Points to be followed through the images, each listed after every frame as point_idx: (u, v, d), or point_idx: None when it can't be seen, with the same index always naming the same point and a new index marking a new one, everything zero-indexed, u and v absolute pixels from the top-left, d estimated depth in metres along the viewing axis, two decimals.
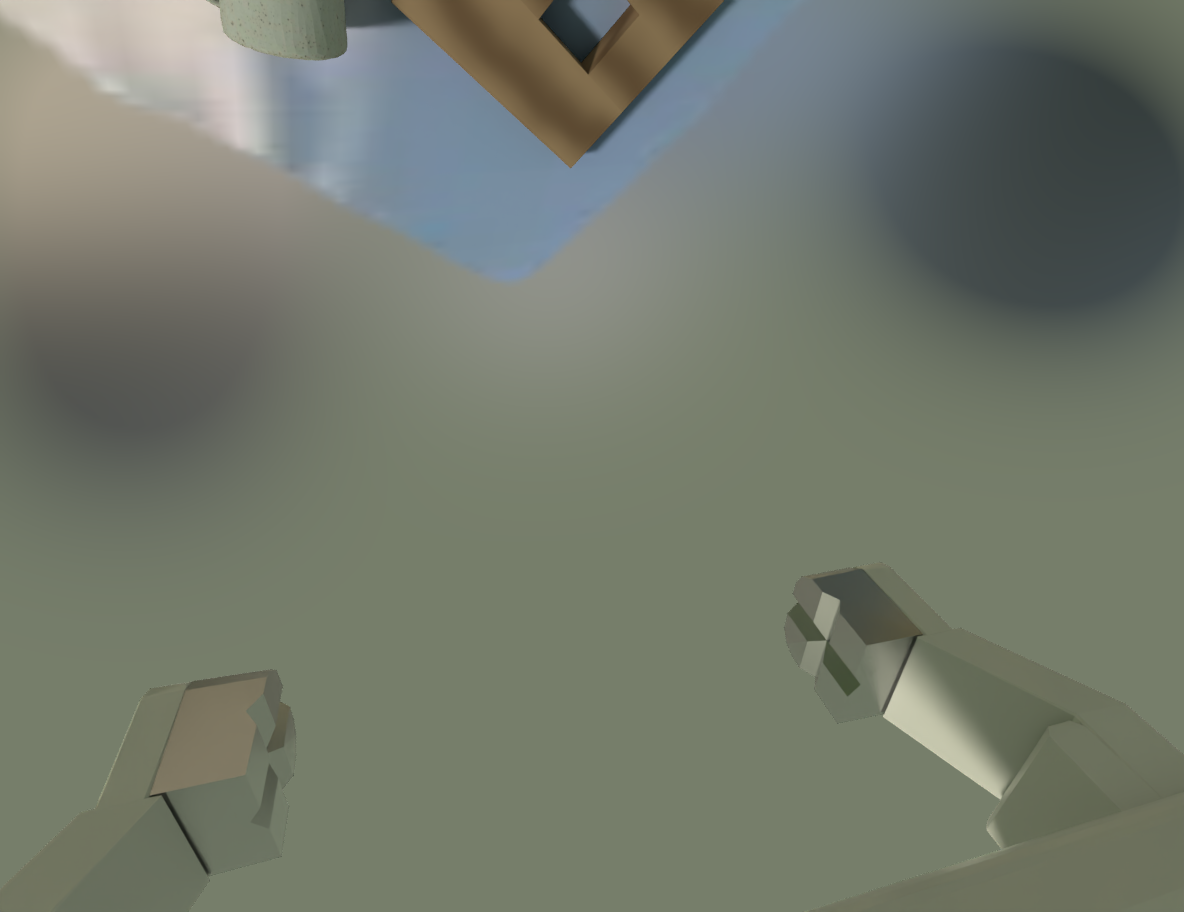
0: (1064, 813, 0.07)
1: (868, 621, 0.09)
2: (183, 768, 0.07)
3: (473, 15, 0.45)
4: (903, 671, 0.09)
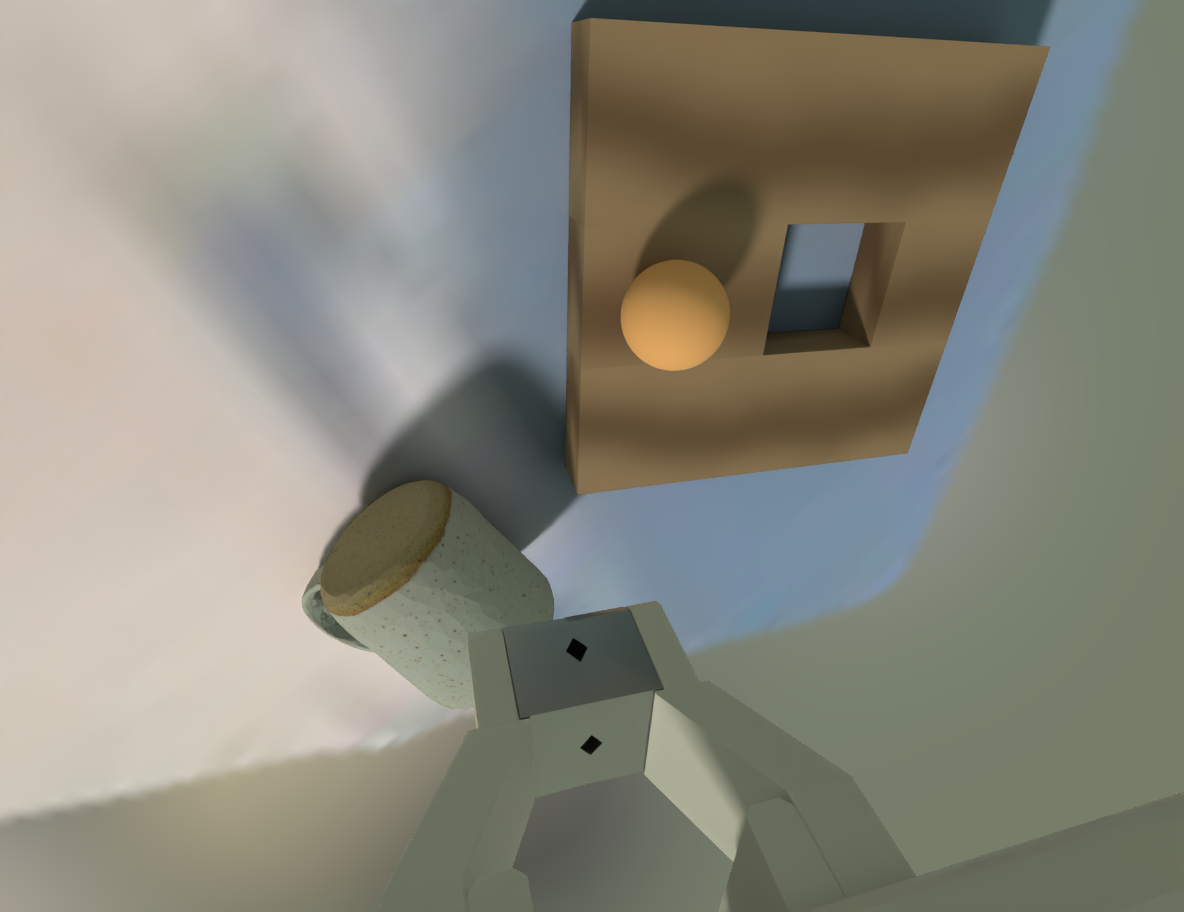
0: (760, 907, 0.06)
1: (608, 672, 0.08)
2: (537, 697, 0.08)
3: (678, 423, 0.28)
4: (651, 727, 0.08)
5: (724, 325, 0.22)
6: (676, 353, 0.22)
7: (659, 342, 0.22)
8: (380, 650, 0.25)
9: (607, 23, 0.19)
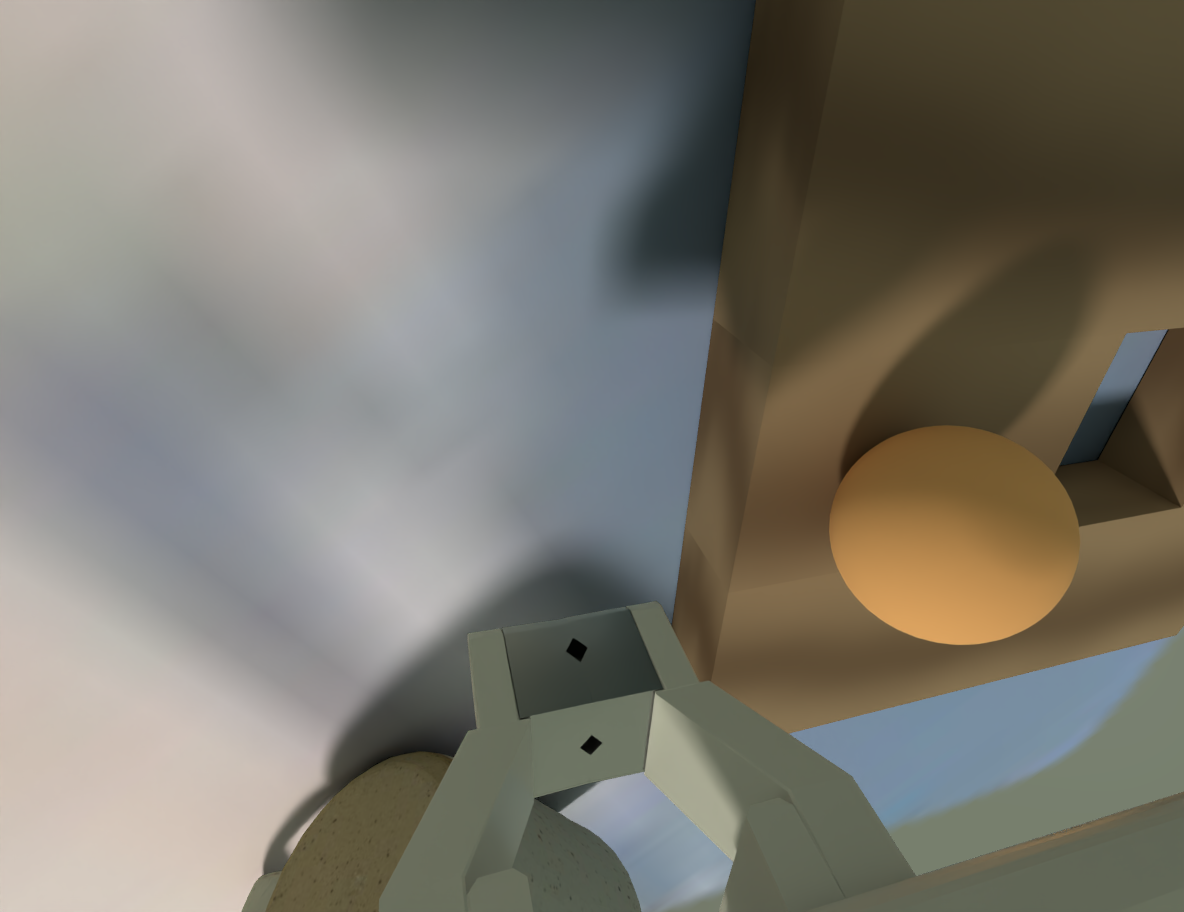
0: (760, 907, 0.06)
1: (608, 672, 0.08)
2: (537, 696, 0.08)
3: (869, 645, 0.17)
4: (650, 727, 0.08)
5: None
6: (979, 636, 0.10)
7: (948, 619, 0.10)
8: None
9: None
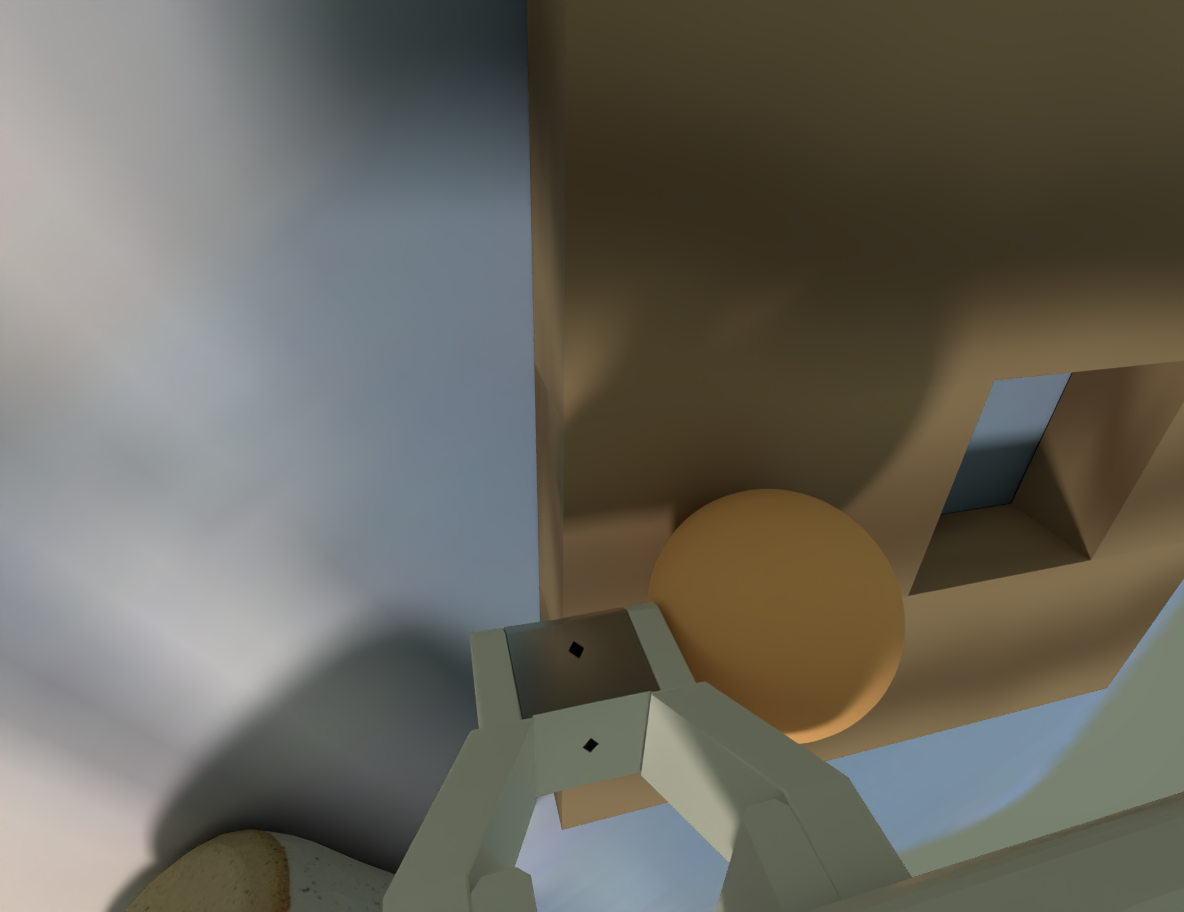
0: (756, 908, 0.06)
1: (604, 673, 0.08)
2: (539, 696, 0.08)
3: None
4: (647, 728, 0.08)
5: None
6: None
7: None
8: None
9: None
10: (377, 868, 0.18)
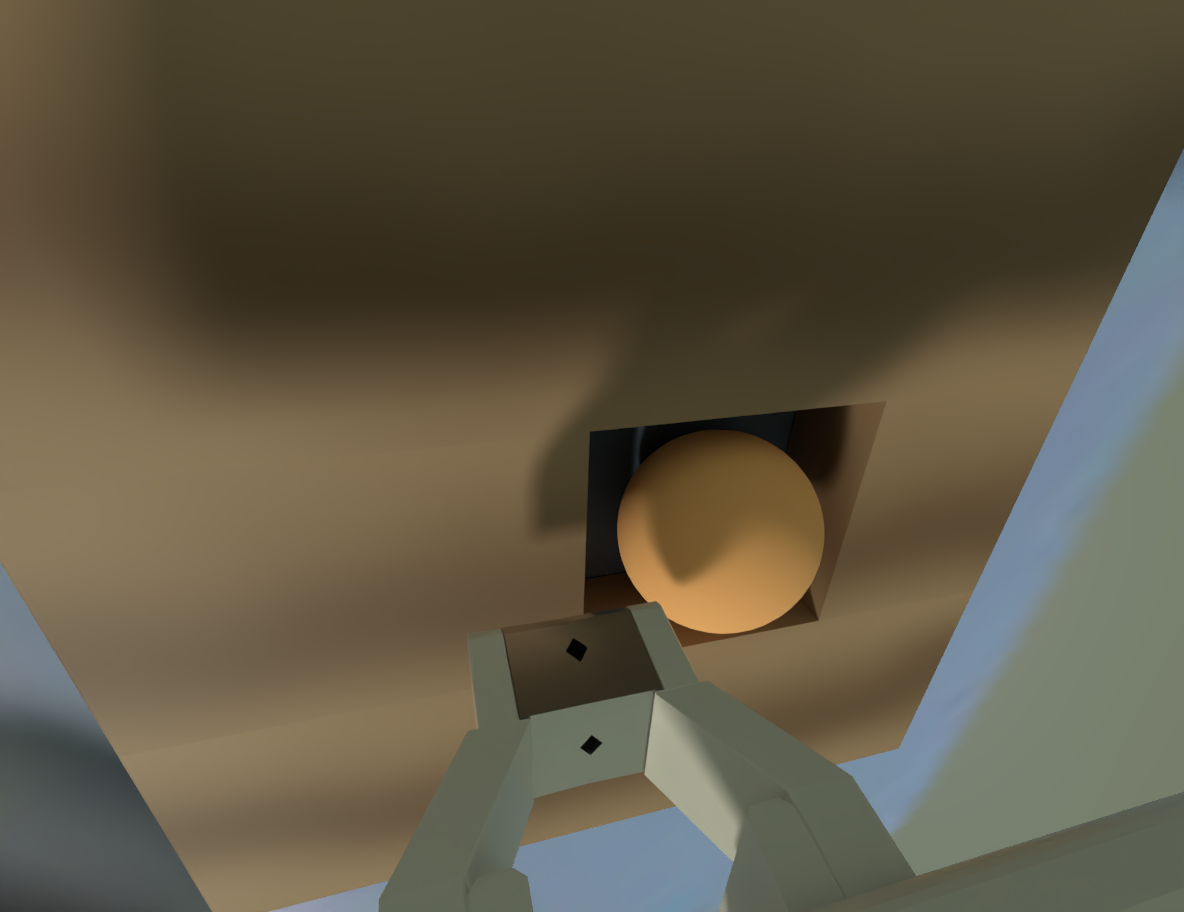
0: (760, 907, 0.06)
1: (608, 672, 0.08)
2: (537, 697, 0.08)
3: (415, 793, 0.13)
4: (650, 727, 0.08)
5: (661, 574, 0.11)
6: None
7: None
8: None
9: None
10: None
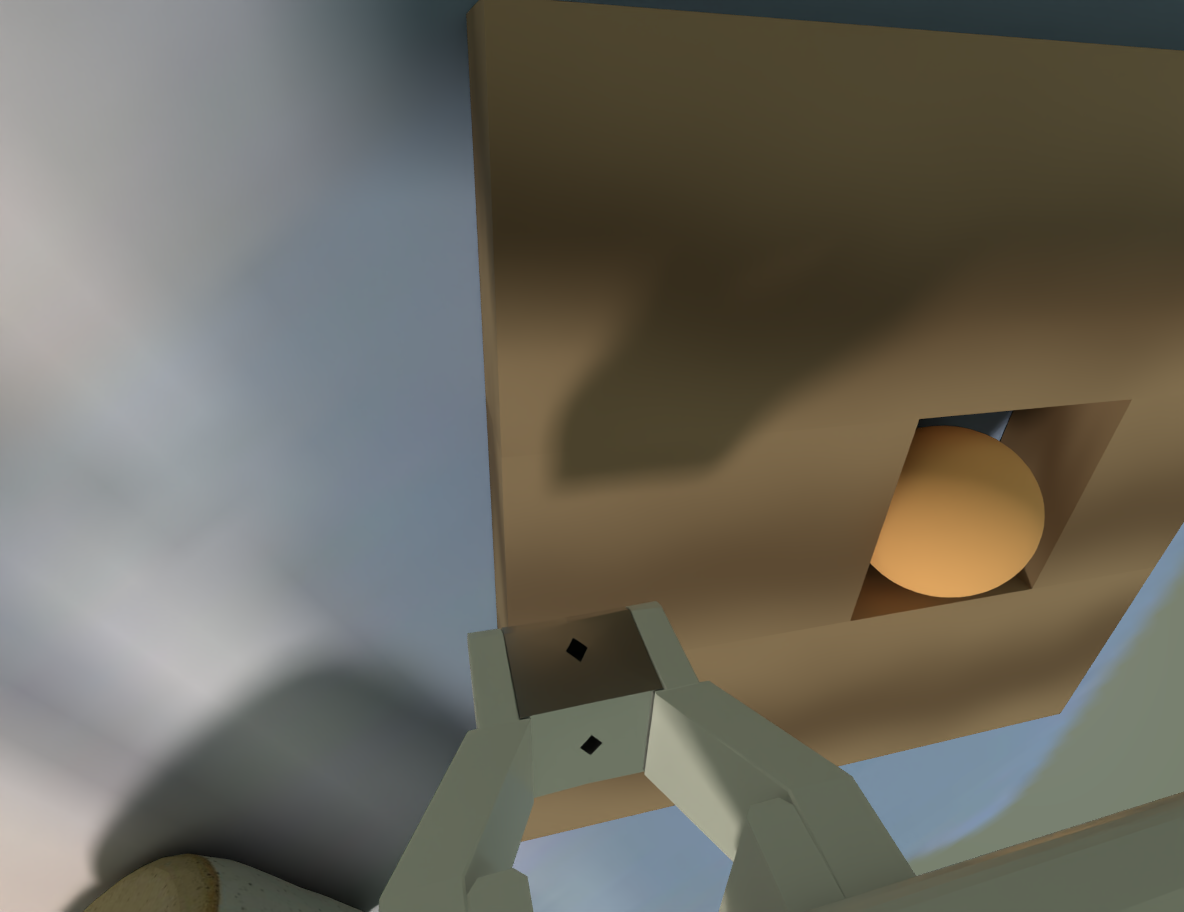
0: (760, 907, 0.06)
1: (608, 672, 0.08)
2: (537, 696, 0.08)
3: None
4: (650, 727, 0.08)
5: None
6: None
7: None
8: None
9: (530, 10, 0.07)
10: (315, 893, 0.18)
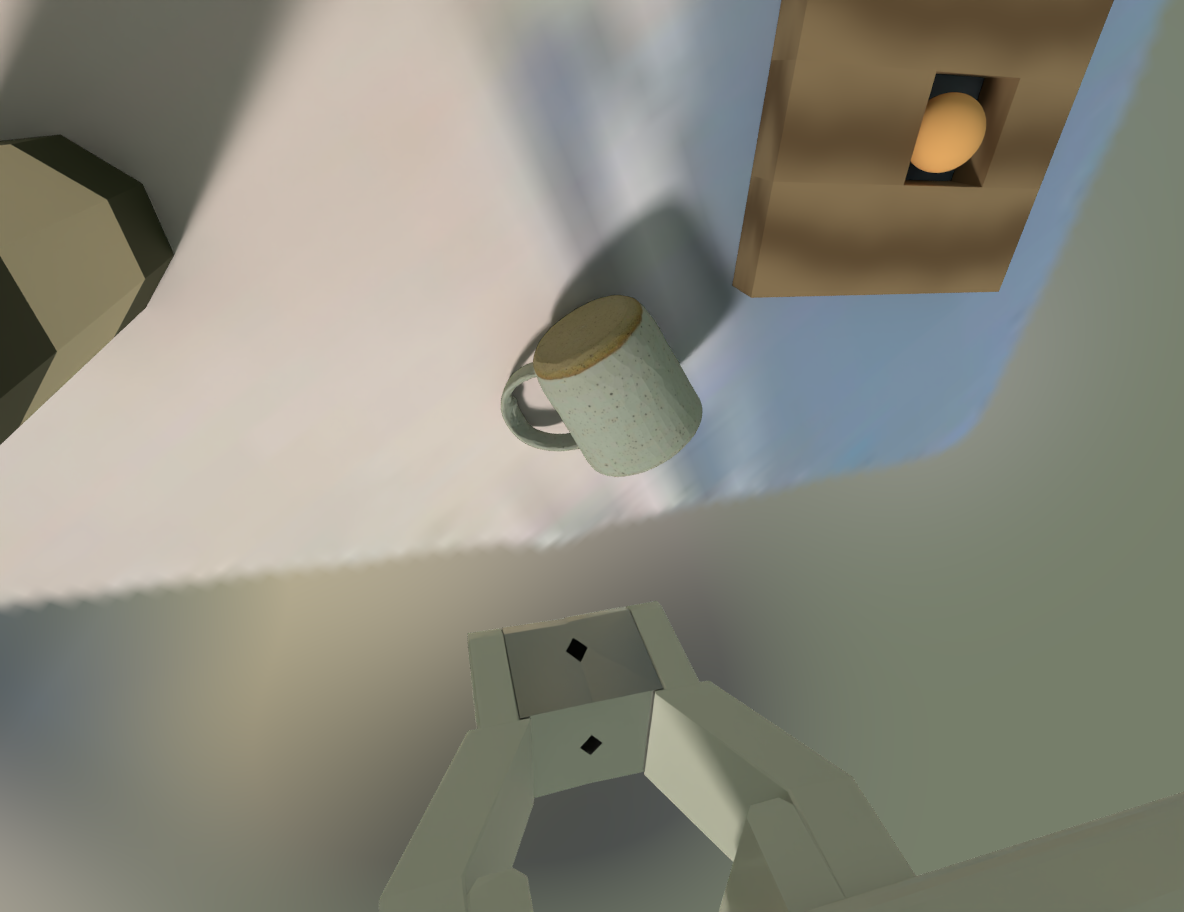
0: (760, 907, 0.06)
1: (608, 672, 0.08)
2: (538, 696, 0.08)
3: (833, 240, 0.36)
4: (650, 727, 0.08)
5: (921, 129, 0.34)
6: None
7: None
8: (586, 412, 0.33)
9: None
10: None
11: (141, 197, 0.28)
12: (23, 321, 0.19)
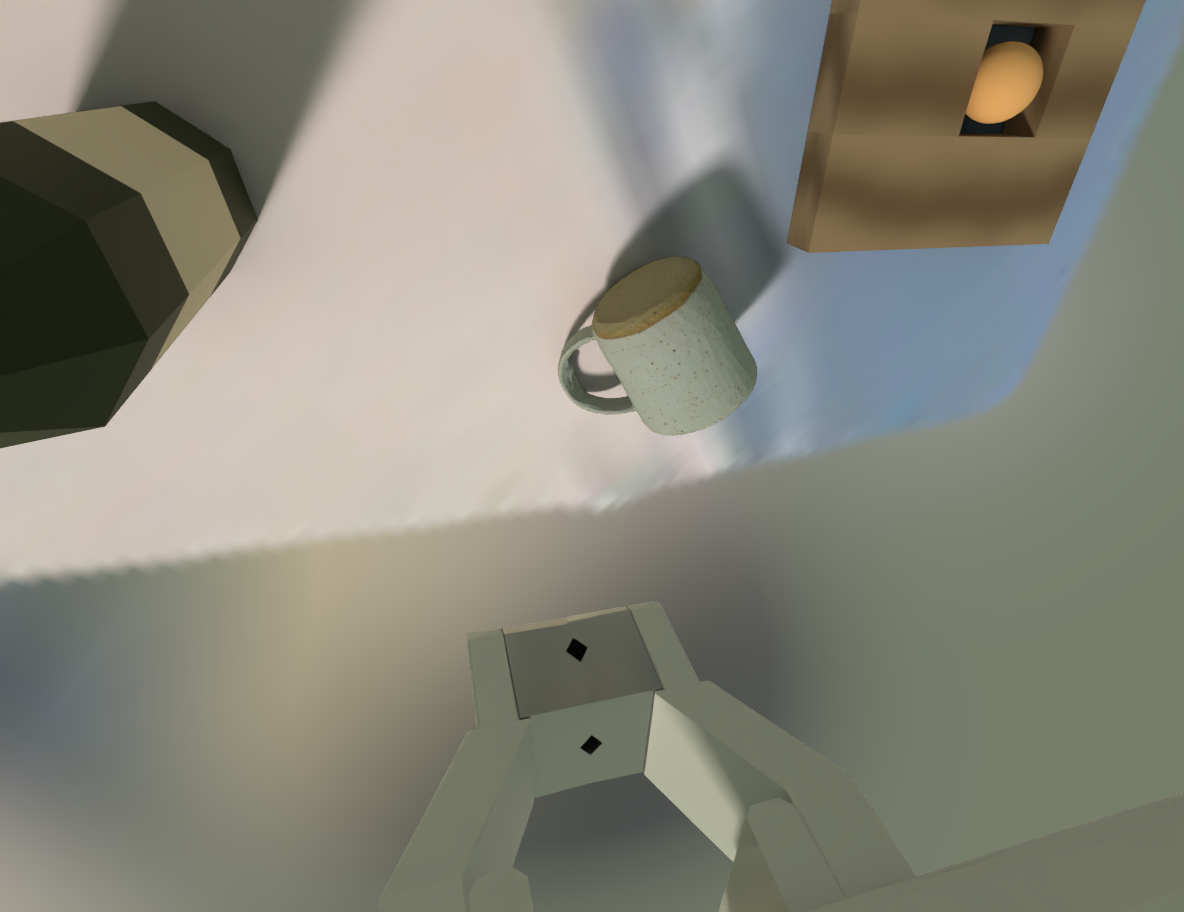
0: (760, 907, 0.06)
1: (608, 672, 0.08)
2: (537, 697, 0.08)
3: (889, 193, 0.36)
4: (650, 727, 0.08)
5: (980, 79, 0.34)
6: None
7: None
8: (648, 369, 0.34)
9: None
10: None
11: (230, 161, 0.29)
12: (165, 262, 0.20)
